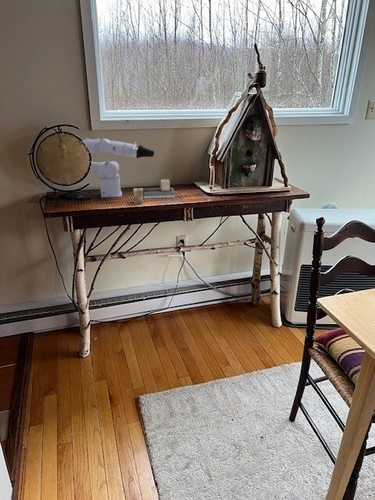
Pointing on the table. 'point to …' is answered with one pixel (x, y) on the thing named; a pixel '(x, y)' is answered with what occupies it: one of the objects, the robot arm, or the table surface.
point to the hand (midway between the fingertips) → (153, 154)
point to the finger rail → (160, 191)
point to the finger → (138, 195)
